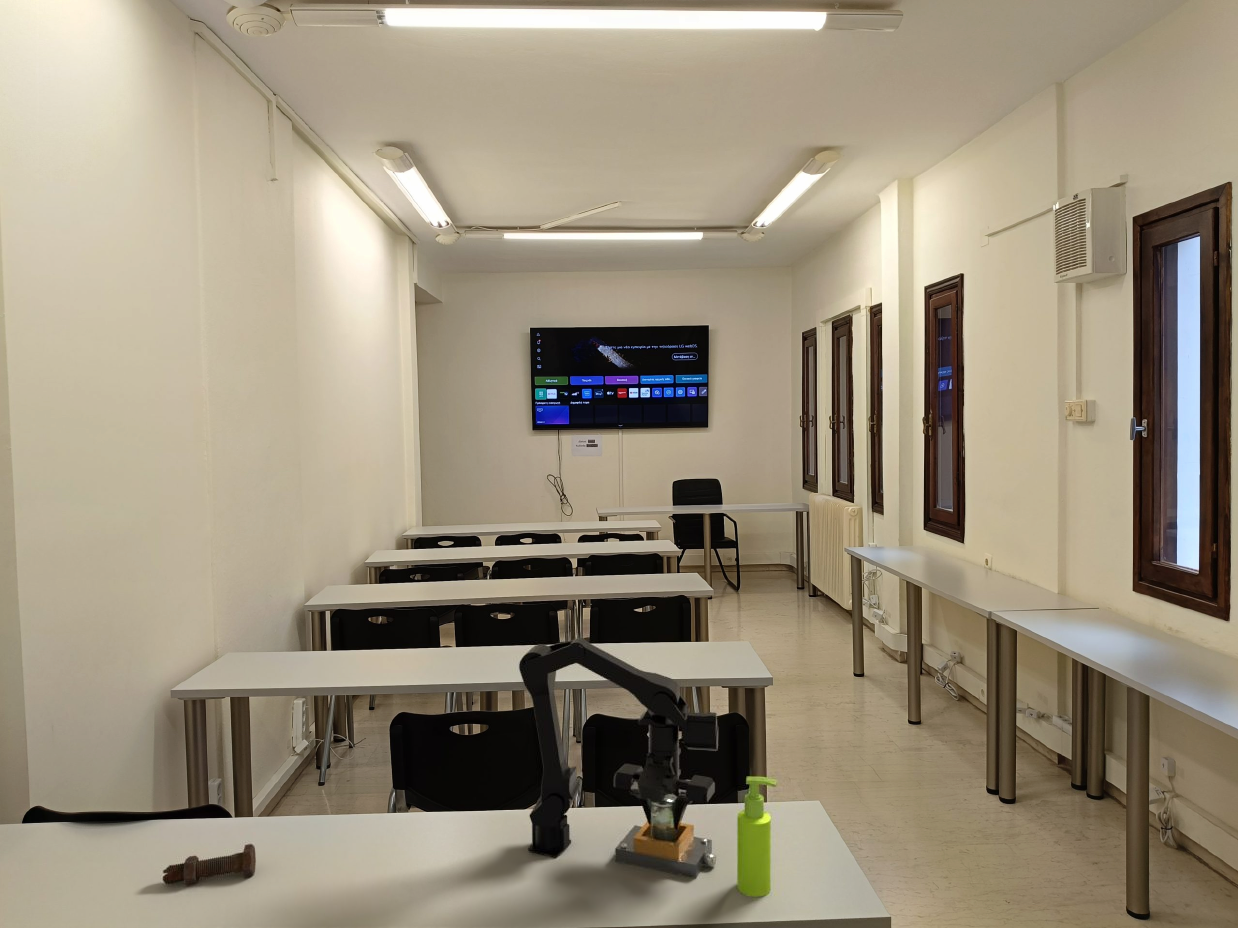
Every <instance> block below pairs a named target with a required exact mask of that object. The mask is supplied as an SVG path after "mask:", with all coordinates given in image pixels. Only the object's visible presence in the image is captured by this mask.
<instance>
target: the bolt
mask: <svg viewBox="0 0 1238 928" xmlns="http://www.w3.org/2000/svg"><path fill="white" fill-rule="evenodd" d="M256 858H257V857H256V848H255V845H254V844H252V843H248V844H245V845H244V848H243V851H242V852H236V853H233V854H228V855H222V856H218V857H217V856H216V857H214V858H213V857H212V858H208V859H207V858H205V859H200V858H199V857H198V856H197V855H190V856H188V857H187V858H185V861H184V862H181V863H177V864H169V865H168V866H167V867H166V868H164V869H163V871H162V874H164V875H163V876H162V881H163V883H164V884H166V885H171V884H177V883H182V882H183V883H184V885H186V887H187V886H194V885H196V884H198V882H199V880H201V879H206V878H211V877H218V876H222V875H223V876H224V875H230V874H239V873H243V877H244V879H247V878H252V877H254V876H255V873H256V866H257V865H256V863H257V860H256ZM199 859H200V860H199Z"/></svg>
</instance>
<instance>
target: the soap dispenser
mask: <svg viewBox="0 0 1238 928" xmlns="http://www.w3.org/2000/svg"><path fill="white" fill-rule="evenodd" d="M745 782H746V783H745V784H746V785H749V789H748V790H749V793H747V794H745V795H744V809H743V810H741V811H739V812H738V813H737V819H736V820H737V831H736V832H737V835H736V836H737V839H736V840H737V842H736V843H737V844H736V845H737V846H736V847H737V848H736V850H737V853H736V855H737V858H736V860H737V865H736V866H737V867H736V868H737V874H736V875H737V877H736V880H737V881H736V884H737V885H736V888H737V890H738V891H739V892H740V893H741V894H743V895H745V896H748V897H753V898H759V897H764V896H767V895H768V894H769V893H770V892H771V882H772V881H771V878H772V876H771V875H772V873H771V869H772V867H771V862H772V861H771V859H772V858H771V855H772V854H771V853H772V852H771V851H772V850H771V849H772V845H771V843H772V842H771V840H772V836H771V834H772V832H771V831H772V826H771V825H772V824H771V823H772V817H771V815H770V814H769V812H766V811H765V810H764V809H765V808H764V806H765V805H764V803H765V800H764V799H765V798H764V795H762V794H760V785H763V786H765V785H766V786H770V787H773V788H775V787H776V786H777V785H778V780H776V779H773V778H770V777H766V776H746V780H745Z"/></svg>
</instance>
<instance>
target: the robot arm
mask: <svg viewBox="0 0 1238 928" xmlns="http://www.w3.org/2000/svg"><path fill="white" fill-rule="evenodd" d="M574 664H575V665H576V664H578V665H579V666H580V667H583V668H585V669H586V670H588V671H590V672H592V673H594V674H596V675H598V676H600V677H602V678H604V679H605V680H607V681H609V682H610V683H613V684H614V685H616V686H618V687H620V688H622V689H624V690H625V691H627V692H629V693H630V694H631V695H633V696H634V697H635V699H636V700H637V701H638V702H639V703H640V705H642V706H643V707H644V708H646V710H645V712H643V713H642V714H641V715H640V717H639V719H638V724H639V725H644V726H645V725H646V726H647V725H648V753H647V754H646V759H645V765H644V768H643V767H642V766H641V765H637V764H636V765H635V764H631V763H624V764H623V765H622V766H621V767H620V768H619V769H618V770H617V771H616V772H615V773H614V776H613V787H614V788H616V789H619V790H626V791H628V790H629V789H630V790H629V793H630V795H633V796H635V797H636V798H637V799H638V801H639V802H640V804H641V806H642V809H643V812H644V815H645V818H646V820H647V821H648V824H649V825H651V803H650V799H652V800H655V801H662V800H663V799H664V798H665V795H668V794H672V795H675V792H676V791H678V793H679V794H678V795H677V796H676V797H677V798H676V799H675V803H676V815H675V830H678V828H679V826H680V823H682V820H683V818H684V815H685V812H686V810H687V806H688V805H691V804H692V803H693V802H694V803H699V804H706V803H707V804H708V803H709V800H710V799H711V798H712V796H713V795H714V793H715V792H716V791H715V790H716V787H715V786H716V783H715V781H714V780H713V778H712V777H709V776H704V775H703V776H702V775H697V774H694V775H693V776H692V777H691V779H680V778H679V777H680V775H682V774H681V768H680V754H681V751H682V750H681V747H680V744H679V743H680V737H679V736H680V731H679V730H680V727H681V743H682V744H683V745H684V747H685V748H687V749H688V750H700V751H701V750H703V751H714V752H716V751H718V749H719V748H718V747H719V726H718V714H717V712H713V711H712V712H691V707H690V706H689V705H688V703H687V702H686V700H685V699H684V698H683V696H682V694H681V689H680V687H679V684H678V682H677V681H676V680H675V679H673V678H671V677H668V676H666V675H663V674H659V673H657V672H650V671H644V670H641V669H639V668H637V667H635V666H634V665H631V664H629V663H627V662H625V661H623V660H621V659H620V658H618V657H616V656H614V655H612V654H611V653H609V652H607V651H605V650H603V649H602V648H599V647H598V646H595V645H593V644H592V643H590V642H588V640H586V639H585V638H583V637H577V638H575V639H571V640H569V641H564V642H563V641H562V642H558V643H554V644H550V645H546V644H542V643H541V644H537V645H534V646H533V647H531V649H529V650H528V651H527V652H526V653H525V654H524V655H523V656H522V657H521V659H520V661H519V663H518V670H519V673H520V676H521V679H522V682H523V685H524V687H525V688H526V690H527V693H529V695H530V697H531V700H532V707H533V712H534V718H535V724H536V732H537V736H538V737H537V738H538V743H539V749H540V756H541V763H542V776H541V784H540V797H539V799H538V800H537V802H536V803H535V805H534V807H533V809H532V810H531V811H530V814H529V818H530V819H529V820H530V822H531V836H532V837H531V841H532V842H531V845H529V847H528V849H527V851H528V852H531V853H535V854H538V855H539V854H541V855H545V856H549V857H552V858H553V857H554V858H557V857H559V856H560V855H561V854H562V853H563V852H564V851H565V850H567V848H568V846H570V845H571V843H572V839H570V824H569V823H568V815H567V814H566V813H568V811H569V809H570V808H571V807H572V804H573V802H574V800H575V798H576V796H577V793H578V789H580V786H581V784H580V782H579V780H578V776H577V775H578V771H577V770H578V769H577V766H574V767H570V766H569V764H568V763H567V761H566V757H565V750H564V746H563V739H562V734H561V733H562V732H561V726H560V721H559V716H558V715H559V714H558V709H557V707H558V706H557V702H556V695H555V683H556V677H557V671H559V670H561V669H564V668H567V667H569V666H572V665H574ZM647 821H646V822H647Z"/></svg>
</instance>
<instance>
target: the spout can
mask: <svg viewBox="0 0 1238 928" xmlns="http://www.w3.org/2000/svg"><path fill="white" fill-rule="evenodd" d="M677 797H678V796H676V795H675V794H673V795H672V794H668V795H665V798H664V799H663V800H662V801H655V800H652V799H650V803H651V836H652V837H653V838H654V839H656V840H661V841H668V840H672V839H674V838H676V836H677V830H675V815H676V803H675V799H676V798H677Z"/></svg>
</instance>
